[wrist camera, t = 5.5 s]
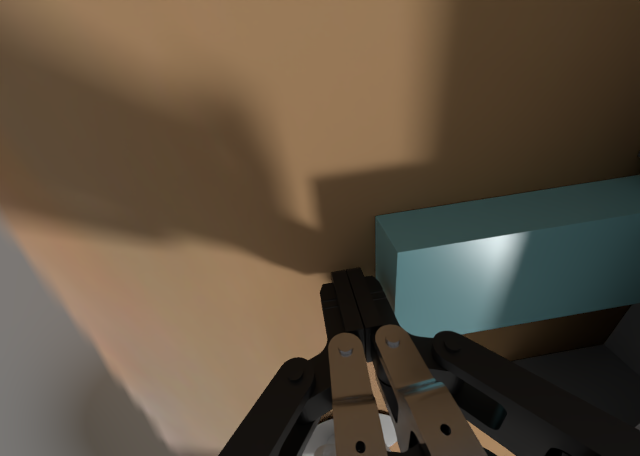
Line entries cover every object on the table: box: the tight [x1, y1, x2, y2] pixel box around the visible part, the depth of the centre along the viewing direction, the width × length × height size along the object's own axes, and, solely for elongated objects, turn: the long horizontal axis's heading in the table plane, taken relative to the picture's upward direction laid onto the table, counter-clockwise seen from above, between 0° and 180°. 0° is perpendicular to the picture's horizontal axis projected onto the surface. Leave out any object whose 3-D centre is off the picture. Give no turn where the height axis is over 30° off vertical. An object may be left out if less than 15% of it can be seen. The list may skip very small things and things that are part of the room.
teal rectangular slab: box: [375, 175, 640, 338], centre depth 14 cm, size 15×6×3 cm, turn 96°
